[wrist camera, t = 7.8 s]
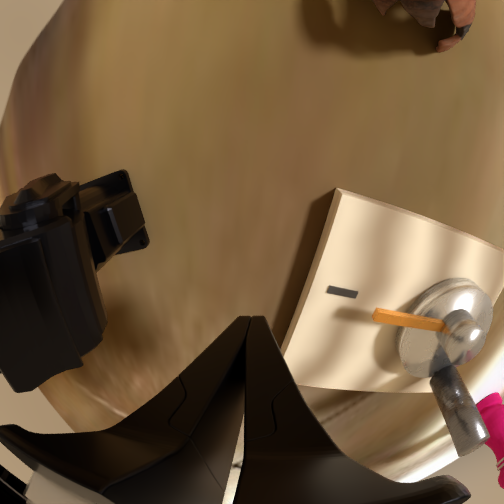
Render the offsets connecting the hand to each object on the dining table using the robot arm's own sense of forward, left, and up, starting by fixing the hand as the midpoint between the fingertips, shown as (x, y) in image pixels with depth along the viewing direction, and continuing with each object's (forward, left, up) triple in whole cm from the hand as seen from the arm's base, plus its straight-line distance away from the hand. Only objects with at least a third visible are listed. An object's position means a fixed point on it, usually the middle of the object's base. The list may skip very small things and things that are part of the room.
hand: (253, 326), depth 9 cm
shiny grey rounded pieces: (+13, -13, -11) cm, 21 cm away
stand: (+11, -12, -13) cm, 20 cm away
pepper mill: (+32, -39, -13) cm, 51 cm away
